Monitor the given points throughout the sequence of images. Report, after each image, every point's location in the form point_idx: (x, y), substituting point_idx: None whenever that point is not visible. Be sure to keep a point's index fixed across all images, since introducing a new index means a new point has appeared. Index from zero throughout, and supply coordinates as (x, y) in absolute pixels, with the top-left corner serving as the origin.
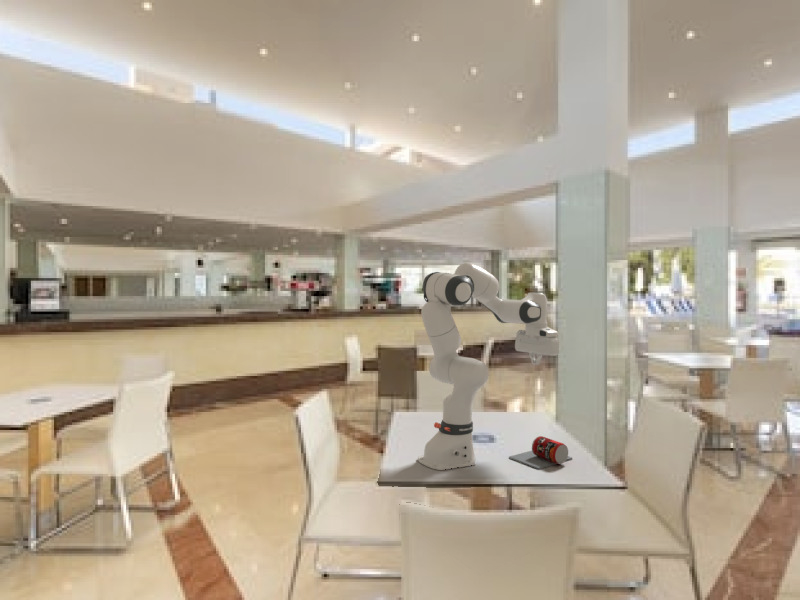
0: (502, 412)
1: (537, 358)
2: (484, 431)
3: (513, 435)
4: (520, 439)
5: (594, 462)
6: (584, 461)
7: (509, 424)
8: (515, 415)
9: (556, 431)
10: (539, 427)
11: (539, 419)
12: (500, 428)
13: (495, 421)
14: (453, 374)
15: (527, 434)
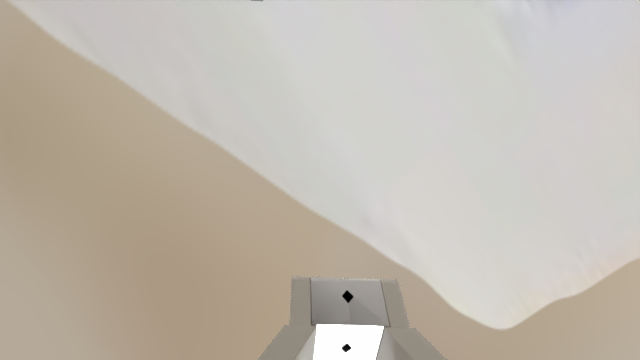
0: (614, 263)
1: (280, 354)
2: (583, 2)
3: (450, 62)
4: (400, 39)
5: (46, 28)
6: (69, 5)
7: (531, 169)
8: (558, 266)
9: (359, 223)
10: (425, 218)
11: (470, 284)
12: (539, 99)
13: (596, 160)
14: None
15: (414, 119)
